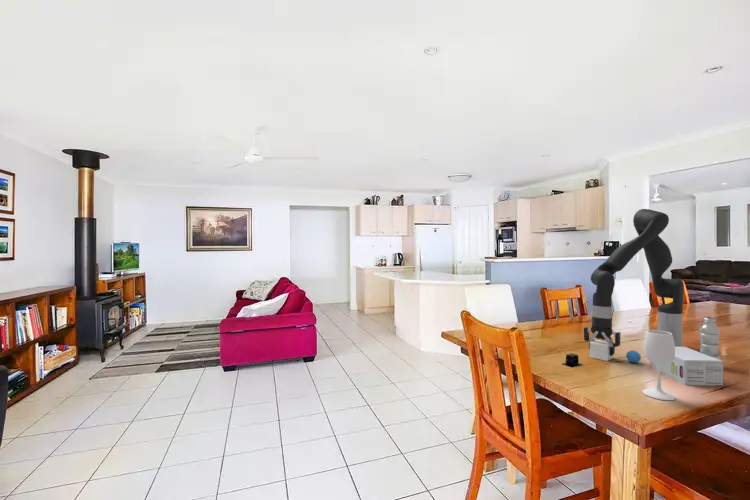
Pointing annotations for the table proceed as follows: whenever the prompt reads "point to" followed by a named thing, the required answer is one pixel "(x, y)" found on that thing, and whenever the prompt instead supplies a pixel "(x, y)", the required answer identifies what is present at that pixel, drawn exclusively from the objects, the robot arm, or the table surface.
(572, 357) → the black screwed bracket block
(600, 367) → the table surface
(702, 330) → the plastic bottle
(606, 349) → the smooth white box
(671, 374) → the supplement box
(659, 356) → the wineglass
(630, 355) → the ball
